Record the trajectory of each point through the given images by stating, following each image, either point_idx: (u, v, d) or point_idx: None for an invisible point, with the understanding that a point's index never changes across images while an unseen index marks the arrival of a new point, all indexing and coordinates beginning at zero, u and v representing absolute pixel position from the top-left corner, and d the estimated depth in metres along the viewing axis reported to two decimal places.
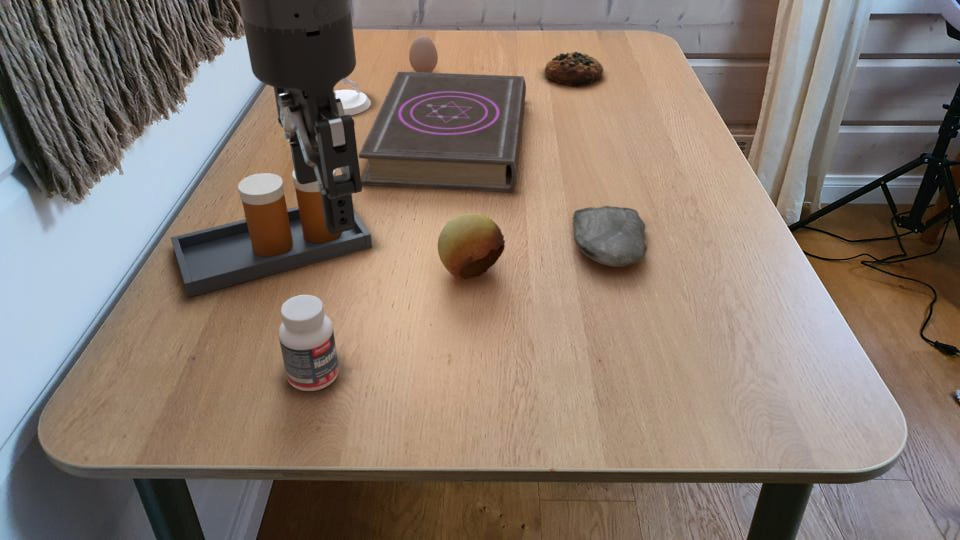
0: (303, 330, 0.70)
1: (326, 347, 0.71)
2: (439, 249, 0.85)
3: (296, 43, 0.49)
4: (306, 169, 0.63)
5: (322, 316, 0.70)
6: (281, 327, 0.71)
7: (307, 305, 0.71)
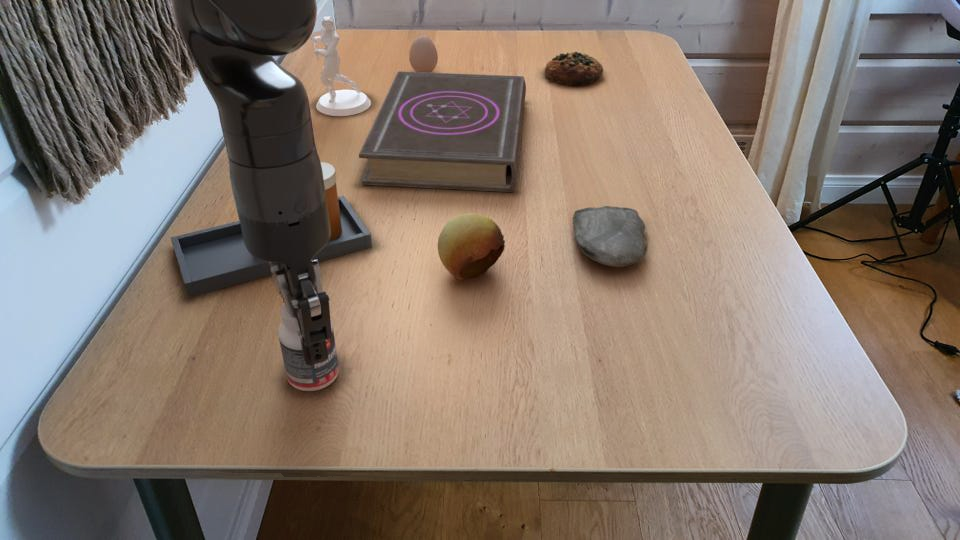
0: None
1: None
2: (439, 249, 0.85)
3: (280, 232, 0.61)
4: None
5: None
6: (281, 327, 0.71)
7: None
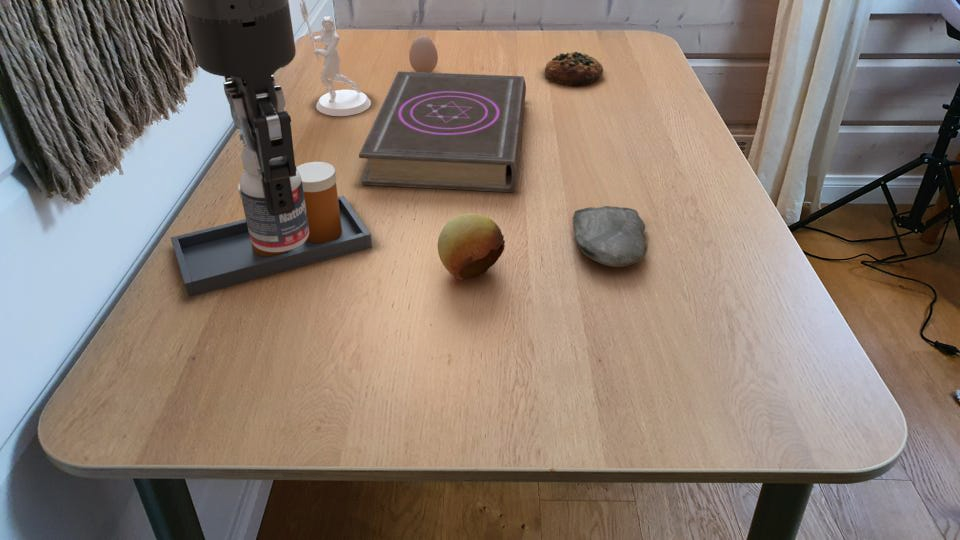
0: None
1: (293, 199, 0.63)
2: (439, 249, 0.85)
3: (233, 33, 0.52)
4: None
5: None
6: (242, 175, 0.63)
7: None
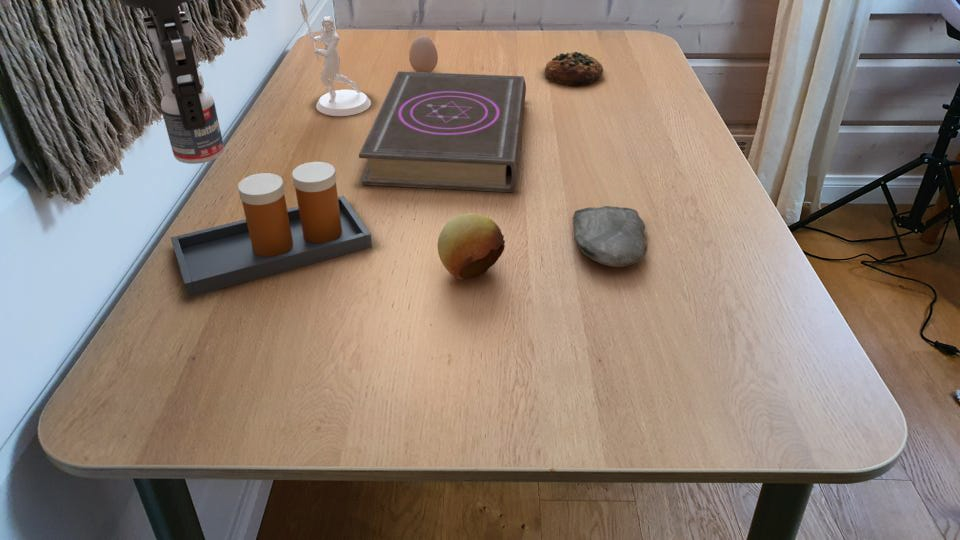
0: None
1: (206, 117, 0.76)
2: (439, 249, 0.85)
3: None
4: None
5: None
6: (163, 97, 0.76)
7: None
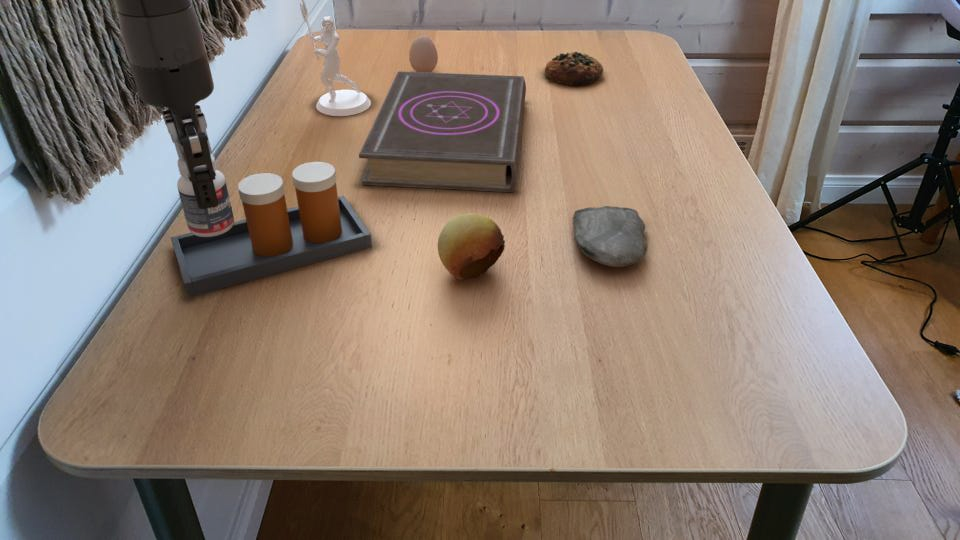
0: None
1: (218, 196, 0.84)
2: (439, 249, 0.85)
3: (163, 77, 0.73)
4: None
5: (213, 167, 0.83)
6: (179, 178, 0.83)
7: None
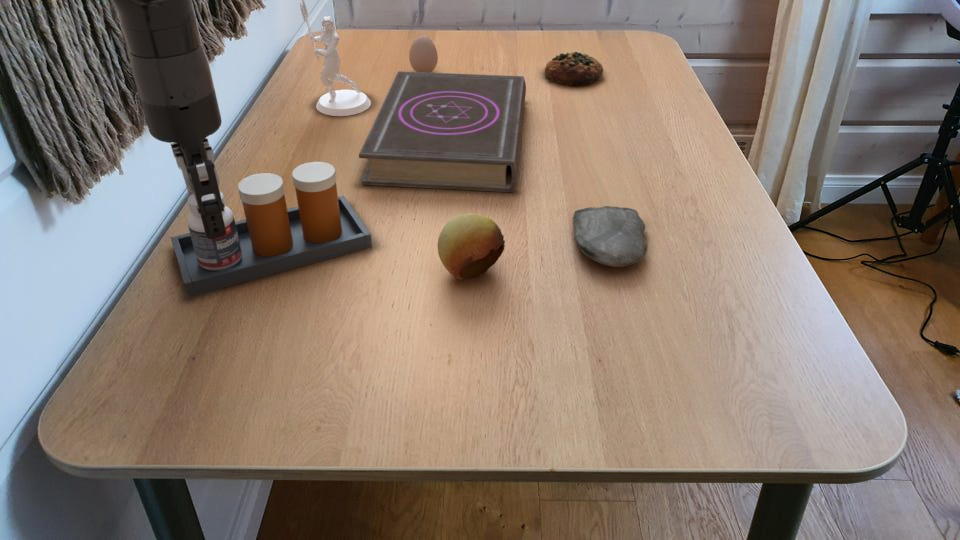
0: None
1: (227, 232, 0.87)
2: (439, 249, 0.85)
3: (173, 114, 0.75)
4: None
5: None
6: (189, 215, 0.86)
7: (210, 196, 0.86)
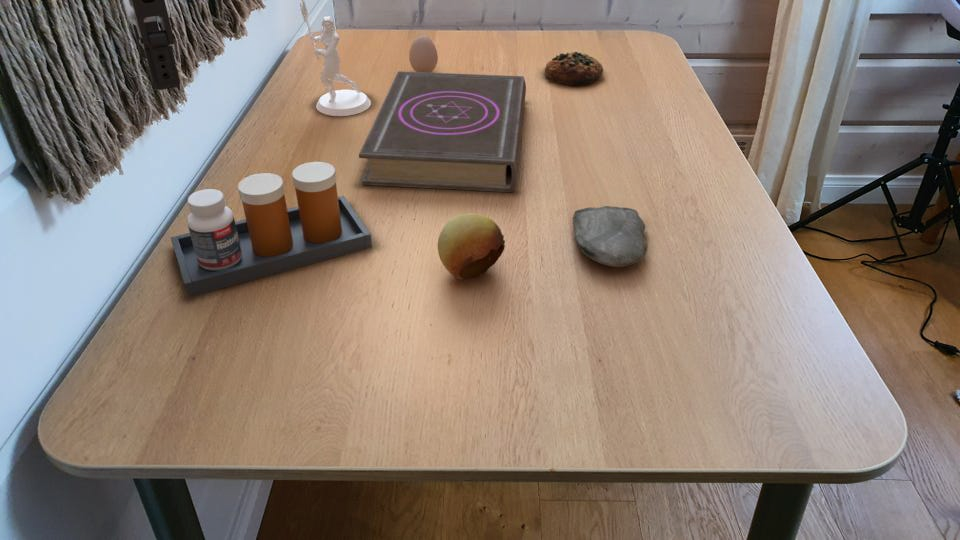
0: (205, 215, 0.85)
1: (227, 232, 0.87)
2: (439, 249, 0.85)
3: None
4: None
5: (222, 205, 0.86)
6: (189, 215, 0.86)
7: (210, 196, 0.86)
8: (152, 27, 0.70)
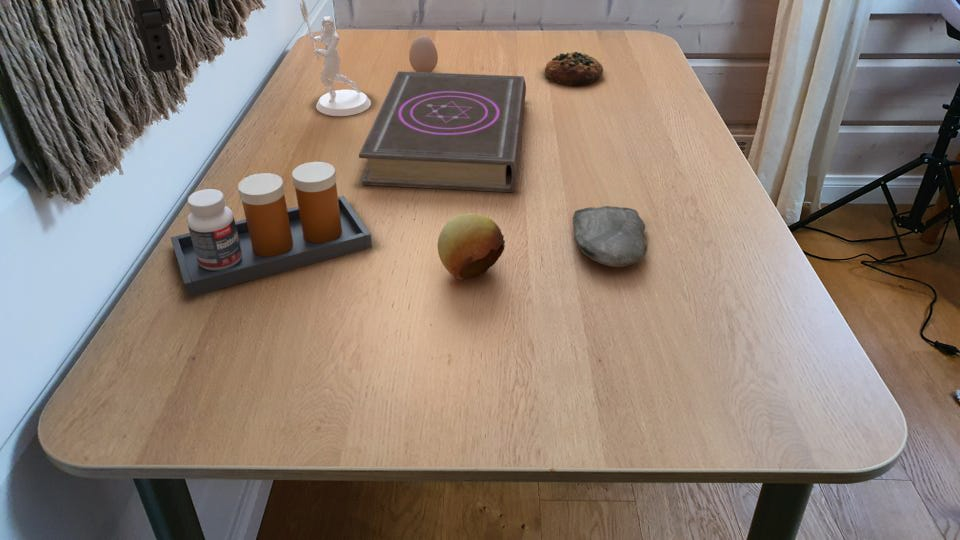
0: (205, 215, 0.85)
1: (227, 232, 0.87)
2: (439, 249, 0.85)
3: None
4: None
5: (222, 205, 0.86)
6: (189, 215, 0.86)
7: (210, 196, 0.86)
8: (148, 6, 0.67)
